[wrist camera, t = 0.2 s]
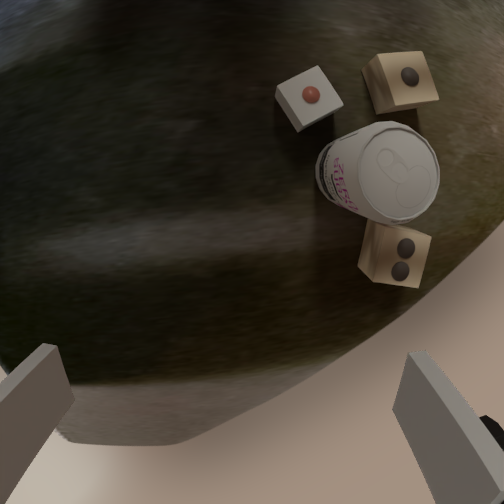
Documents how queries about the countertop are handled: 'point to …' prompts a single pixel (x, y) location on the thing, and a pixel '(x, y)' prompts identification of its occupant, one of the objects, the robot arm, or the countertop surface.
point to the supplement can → (380, 172)
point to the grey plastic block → (307, 98)
